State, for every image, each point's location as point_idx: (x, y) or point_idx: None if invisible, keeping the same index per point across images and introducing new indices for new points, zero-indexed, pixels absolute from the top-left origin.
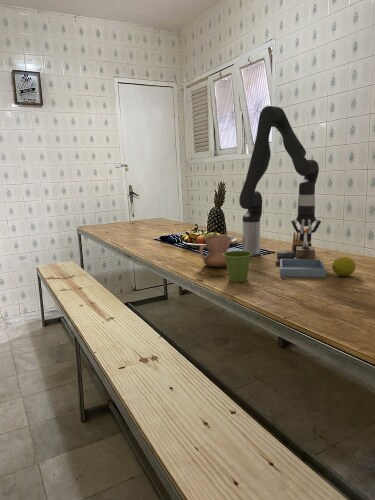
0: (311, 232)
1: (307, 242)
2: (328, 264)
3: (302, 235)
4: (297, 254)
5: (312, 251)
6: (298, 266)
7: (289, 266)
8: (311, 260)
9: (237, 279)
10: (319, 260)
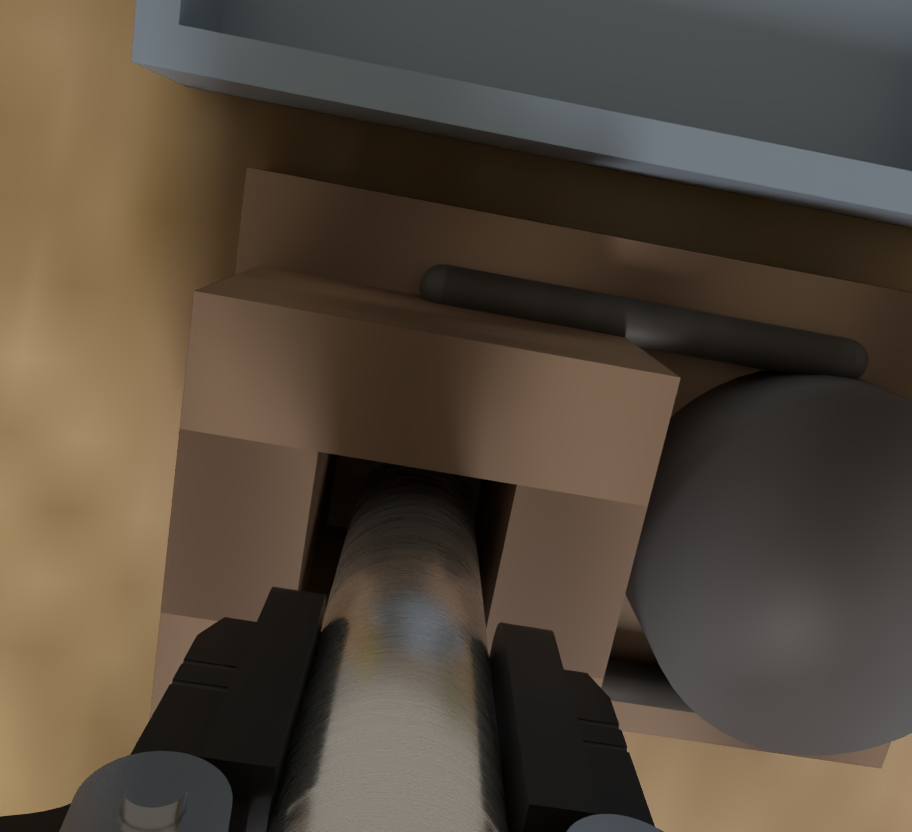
0: (78, 793)
1: (341, 599)
2: (9, 276)
3: (547, 755)
4: (633, 353)
5: (272, 297)
6: (637, 64)
7: (810, 83)
8: (367, 62)
9: None
10: (188, 26)
